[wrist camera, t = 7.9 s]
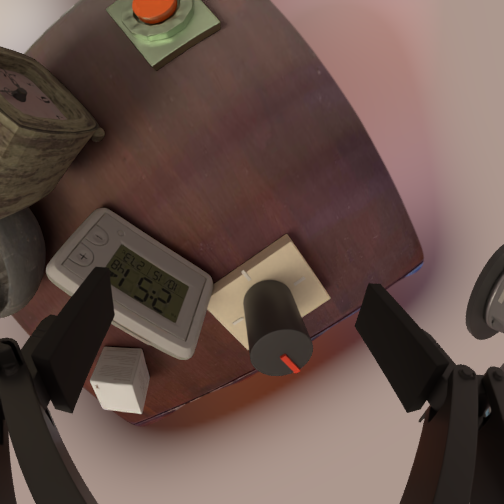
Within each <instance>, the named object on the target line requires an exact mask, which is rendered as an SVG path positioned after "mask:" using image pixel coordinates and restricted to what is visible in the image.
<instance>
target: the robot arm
mask: <svg viewBox="0 0 504 504" xmlns="http://www.w3.org/2000/svg"><path fill="white" fill-rule="evenodd" d="M114 316H115V313H114V305H113V298H112V289H111V280H110V270H109V268H106V267H95V268H94V269H93V270H92V271H91V273H90V274H89V275H88V276H87V278H86V279H85V280H84V281H83V283H82V284H81V285H80V286H79V288H78V289H77V290H76V292H75V293H74V294H73V296H72V297H71V298H70V300H69V301H68V302H67V304H66V305H65V306H64V308H63V309H62V310H61V312H60V313H59V314H58V316H55V315H49V316H48V317H47V318H45V319H44V320H42V321H41V322H40V324H39V325H38V327H37V328H36V330H35V331H34V332H33V333H32V336H30V338H29V339H28V340H27V342H26V343H25V345H24V346H23V348H22V349H21V350H20V348H19V345H18V343H17V341H15V340H13V339H11V338H2V339H0V504H17V503H16V498H15V492H14V486H13V479H12V472H11V463H10V452H9V437H8V431H9V434H10V438H11V441H12V444H13V448H14V450H15V453H16V457H17V459H18V462H19V465H20V468H21V470H22V473H23V475H24V478H25V480H26V483H27V485H28V487H29V490H30V492H31V494H32V497H33V499H34V501H35V503H36V504H98V503H97V502H96V500H95V498H94V497H93V495H92V494H91V492H90V491H89V489H88V487H87V486H86V484H85V482H84V481H83V479H82V477H81V476H80V474H79V472H78V470H77V469H76V466H75V465H74V463H73V461H72V459H71V457H70V455H69V453H68V451H67V449H66V447H65V445H64V443H63V441H62V439H61V437H60V435H59V432H58V430H57V428H56V426H55V423H54V421H53V419H52V416H51V414H50V411H49V410H48V408H47V406H48V404H49V401H50V399H51V401H52V403H53V405H54V407H55V409H58V410H61V411H65V412H69V413H73V410H74V408H75V405H76V403H77V400H78V398H79V395H80V393H81V390H82V388H83V385H84V383H85V380H86V378H87V376H88V373H89V371H90V368H91V366H92V364H93V362H94V359H95V357H96V355H97V352H98V350H99V348H100V346H101V344H102V341H103V339H104V337H105V335H106V333H107V331H108V329H109V327H110V324H111V322H112V320H113V318H114ZM483 318H484V321H485V323H486V324H487V325H488V326H489V327H490V328H492V329H494V330H497V331H499V332H503V333H504V269H503V270H502V272H501V273H500V274H499V276H498V277H497V279H496V280H495V282H494V284H493V285H492V287H491V289H490V291H489V294H488V296H487V299H486V302H485V306H484V312H483ZM355 327H356V329H357V331H358V332H359V334H360V335H361V337H362V338H363V340H364V342H365V343H366V345H367V347H368V348H369V350H370V351H371V353H372V355H373V356H374V358H375V359H376V361H377V363H378V364H379V366H380V368H381V369H382V371H383V373H384V374H385V376H386V377H387V379H388V381H389V382H390V384H391V386H392V388H393V389H394V391H395V392H396V394H397V396H398V398H399V400H400V401H401V403H402V405H403V406H404V408H405V410H406V412H407V413H408V412H412V411H416V410H419V409H421V407H422V406H423V405H424V403H425V402H426V400H427V401H428V402H429V404H430V406H429V407H428V409H427V410H426V411H425V413H424V414H423V415H422V417H421V418H420V420H419V422H421V421H422V420H423V419H424V418H425V420H424V423H423V429H422V433H421V437H420V441H419V445H418V449H417V452H416V456H415V460H414V463H413V466H412V470H411V473H410V476H409V479H408V482H407V485H406V488H405V490H404V493H403V496H402V499H401V501H400V504H469V502H470V504H504V364H503V365H502V366H501V367H500V368H498V367H490V368H488V370H487V372H486V373H485V374H484V375H476V373H475V372H474V371H473V370H472V369H471V368H470V367H468V366H466V365H461V364H460V365H456V364H455V363H454V362H453V361H452V359H451V358H450V357H449V356H448V355H447V354H446V353H445V351H444V350H443V349H442V348H441V347H440V345H439V344H438V343H436V341H435V340H434V338H433V337H432V336H431V335H430V334H428V333H427V332H426V331H424V330H423V329H421V328H420V327H419V326H418V325H417V324H416V323H415V321H413V319H412V318H411V317H410V316H409V315H408V314H407V313H406V311H405V310H404V309H403V308H402V307H401V306H400V305H399V304H398V303H397V302H396V300H395V299H394V298H393V297H392V296H391V295H390V294H389V293H388V292H387V291H386V290H385V289H384V287H383V286H382V285H381V284H368V287H367V290H366V293H365V296H364V300H363V303H362V306H361V309H360V312H359V315H358V318H357V321H356V324H355Z"/></svg>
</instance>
